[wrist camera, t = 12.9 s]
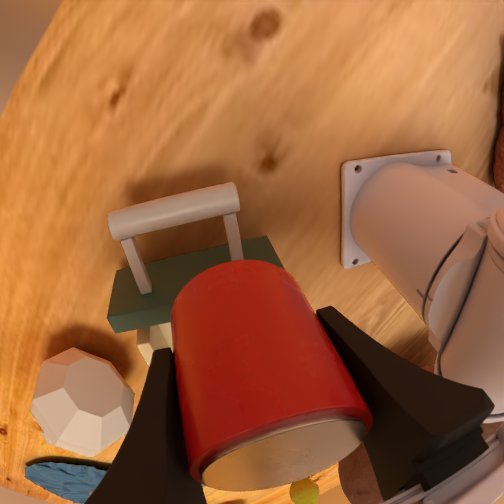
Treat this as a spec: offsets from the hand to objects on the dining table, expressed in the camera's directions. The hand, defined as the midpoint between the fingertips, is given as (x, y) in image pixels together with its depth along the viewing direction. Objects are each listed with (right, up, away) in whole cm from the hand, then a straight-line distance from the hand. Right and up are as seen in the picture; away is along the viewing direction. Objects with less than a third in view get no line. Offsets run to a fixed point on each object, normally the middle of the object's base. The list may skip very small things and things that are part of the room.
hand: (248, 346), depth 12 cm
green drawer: (-3, 0, +9) cm, 10 cm away
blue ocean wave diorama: (-25, -37, +28) cm, 53 cm away
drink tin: (0, +1, +1) cm, 2 cm away
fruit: (+9, -40, +38) cm, 56 cm away
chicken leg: (-16, -9, +13) cm, 23 cm away
